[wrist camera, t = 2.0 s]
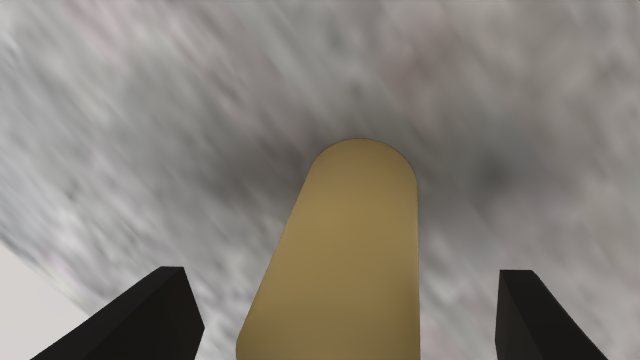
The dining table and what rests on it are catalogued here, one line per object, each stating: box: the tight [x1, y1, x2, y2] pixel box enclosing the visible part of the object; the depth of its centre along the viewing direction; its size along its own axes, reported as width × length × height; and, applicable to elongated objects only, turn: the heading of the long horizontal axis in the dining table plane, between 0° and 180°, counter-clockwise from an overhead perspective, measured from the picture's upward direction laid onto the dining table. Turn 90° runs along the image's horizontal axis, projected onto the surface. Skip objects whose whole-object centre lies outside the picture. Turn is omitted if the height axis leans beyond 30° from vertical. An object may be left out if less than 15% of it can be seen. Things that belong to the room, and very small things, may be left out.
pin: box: [236, 139, 420, 360], centre depth 12 cm, size 4×4×7 cm
